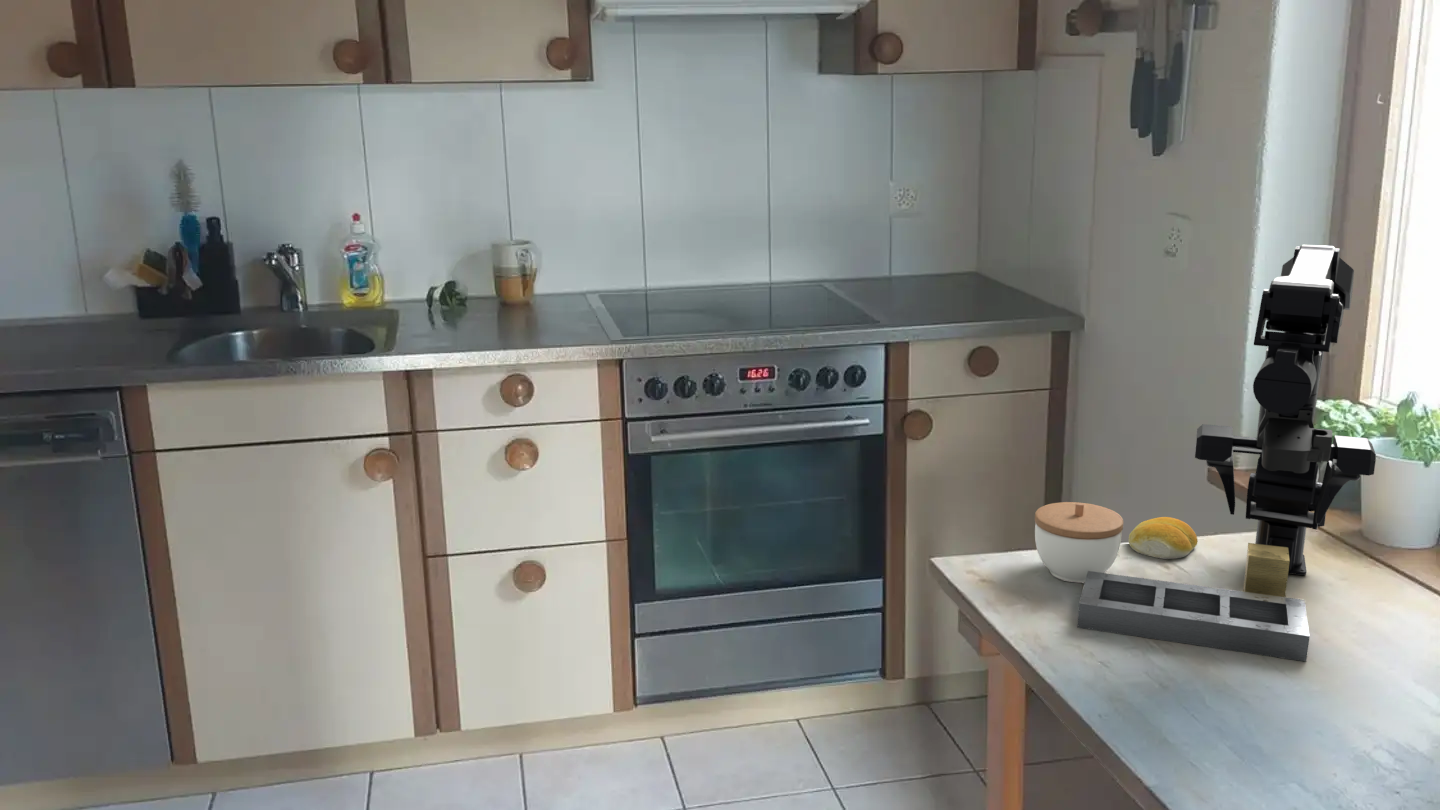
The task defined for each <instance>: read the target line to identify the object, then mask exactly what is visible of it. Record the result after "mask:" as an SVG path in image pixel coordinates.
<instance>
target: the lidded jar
mask: <svg viewBox="0 0 1440 810" xmlns="http://www.w3.org/2000/svg"><path fill="white" fill-rule="evenodd" d="M1034 522H1035V527H1034V539H1035V546H1036V552H1037V554H1038V556H1039V558H1040V560H1041V562H1042V564H1043V565H1044V566H1045V567H1046V568H1047V569H1048V570H1049V573H1050V574H1051V575H1052V576H1053V577H1054V578H1056V579H1059V580H1060V581H1061V580H1062V581H1065V582H1070V583H1074V584H1075V583H1077V584H1078V583H1079V584H1084V583H1085V580H1086V576H1087V573H1088V571H1093V572H1100V573H1107V571H1108V570H1109V569H1110V568H1111V567H1112V566H1113V564H1114V562H1115V560H1116V558H1117V557H1118V555H1119V552H1120V551H1119V550H1120V547H1121V542H1122V532H1123V529H1124V519H1123V517H1122V516H1121V515H1120V514H1119V513H1118V512H1116V511H1115V510H1112V509H1110V508H1107V507H1105V506H1101V505H1097V504H1093V503H1084V502H1078V501H1077V502H1075V501H1073V502H1072V501H1071V502H1070V501H1064V502H1063V501H1062V502H1052V503H1049V504H1046V505H1042V506H1040V507H1039V508H1037V510H1036V511H1035V513H1034Z"/></svg>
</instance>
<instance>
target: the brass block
mask: <svg viewBox="0 0 1440 810" xmlns="http://www.w3.org/2000/svg"><path fill="white" fill-rule="evenodd" d="M1289 562H1290V559H1289V551H1288V547H1279V546H1271V545H1263V544H1255V542H1254V543H1253V542H1252V543H1251V542H1248V543H1247V551H1246V561H1245V569H1244V577H1243V588H1242V592H1250V593H1257V594H1265V595H1272V596H1280V597H1286V594H1287V586H1288V578H1289V573H1288V571H1289Z"/></svg>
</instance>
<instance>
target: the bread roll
mask: <svg viewBox="0 0 1440 810" xmlns="http://www.w3.org/2000/svg"><path fill="white" fill-rule="evenodd" d="M1127 541H1128V544H1129V547H1130V548H1131V549H1132V550H1133V551H1134V552H1136V553H1138V554H1142V555H1144V556H1148V557H1151V558H1156V559H1162V560H1173V559H1180V558H1181V559H1182V558H1184V557H1186V556H1188V555H1189V554H1190V553H1191V552H1192V551H1193V550H1194V549H1195V548H1196V547H1197V546H1198V541H1199V540H1198V537H1197V533H1196V532H1195V531H1194V529H1193V528H1192V526H1190V525H1189V524H1188V523H1186V522H1185V521H1183V520H1180V518H1179V519H1178V518H1174V517H1170V516H1161V517H1160V516H1159V517H1155V518H1149V519H1148V520H1144V521H1142V522H1140V523H1138V524H1137V525H1136V526H1135V527H1134V529H1133V530H1131V532H1130V533H1129V535H1128V539H1127Z"/></svg>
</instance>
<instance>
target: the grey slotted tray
mask: <svg viewBox="0 0 1440 810" xmlns="http://www.w3.org/2000/svg"><path fill="white" fill-rule="evenodd" d="M1306 607H1307V606H1306V600H1305V599H1301V598H1295V597H1294V598H1293V597H1287V596H1285V597H1280V596H1272V595H1265V594H1257V593H1250V592H1243V590H1242V591H1241V590H1233V589H1225V588H1220V587H1212V586H1203V585H1195V584H1188V583H1181V582H1175V581H1173V582H1172V581H1166V580H1161V579H1160V580H1159V579H1158V580H1157V579H1151V578H1144V577H1137V576H1136V577H1135V576H1128V575H1122V574H1113V573H1107V572H1105V573H1100V572H1093V571H1088V573H1087V576H1086V580H1085V583H1083V587H1082V591H1081V595H1080V599H1079V602H1078V610H1077V611H1078V612H1077V613H1078V614H1077V623H1076V624H1077V625H1076V627H1077V628H1080V629H1085V630H1092V631H1099V632H1104V633H1105V632H1106V633H1111V634H1113V633H1114V634H1120V635H1126V636H1133V637H1139V638H1140V637H1141V638H1145V639H1146V638H1147V639H1154V640H1159V641H1167V642H1171V643H1172V642H1173V643H1180V644H1184V645H1185V644H1187V645H1193V646H1199V647H1205V648H1213V649H1219V650H1227V651H1232V652H1239V653H1244V654H1245V653H1246V654H1251V655H1261V656H1266V657H1273V658H1280V659H1286V660H1294V661H1301V662H1307V661H1308V654H1309V653H1308V652H1309V644H1310V628H1309V623H1308V622H1309V621H1308V614H1307V608H1306Z"/></svg>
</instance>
